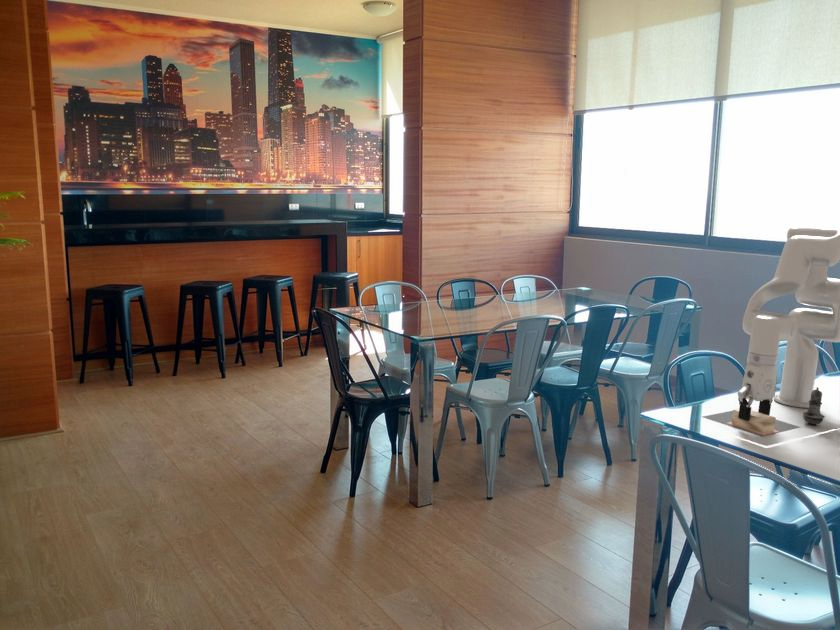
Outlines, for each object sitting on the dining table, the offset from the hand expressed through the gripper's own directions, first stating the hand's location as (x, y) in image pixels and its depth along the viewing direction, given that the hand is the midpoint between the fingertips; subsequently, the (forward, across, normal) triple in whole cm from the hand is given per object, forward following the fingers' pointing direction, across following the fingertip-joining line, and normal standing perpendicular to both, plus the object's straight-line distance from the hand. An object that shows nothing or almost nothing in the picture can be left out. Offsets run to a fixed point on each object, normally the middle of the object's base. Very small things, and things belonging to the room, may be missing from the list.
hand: (753, 417), depth 208 cm
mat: (+4, +4, +3) cm, 7 cm away
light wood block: (+3, 0, 0) cm, 3 cm away
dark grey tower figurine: (+4, +20, -6) cm, 22 cm away
